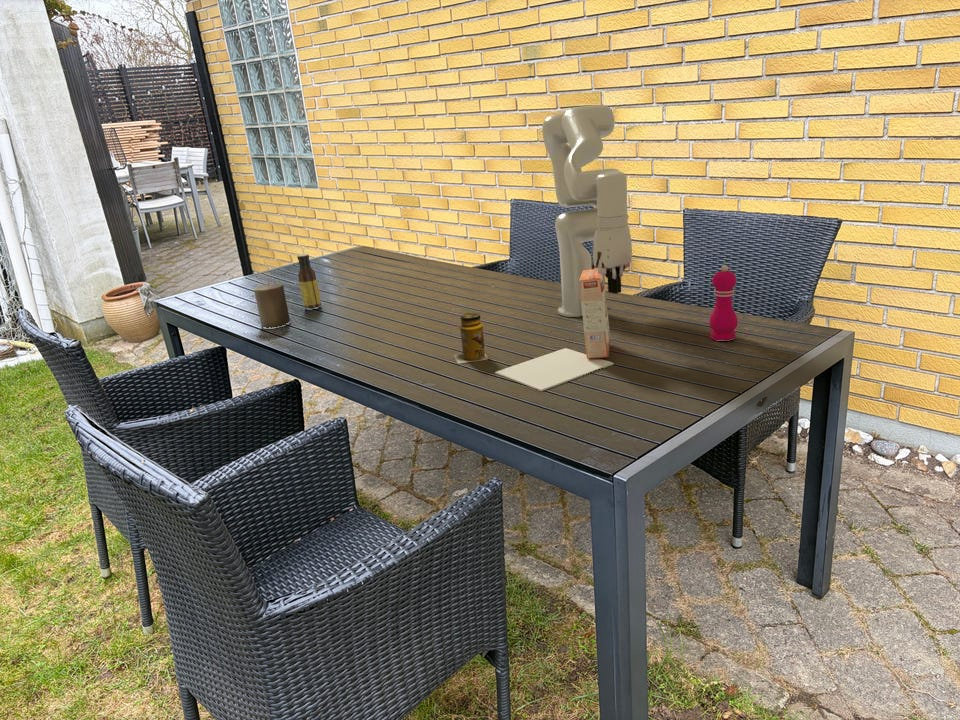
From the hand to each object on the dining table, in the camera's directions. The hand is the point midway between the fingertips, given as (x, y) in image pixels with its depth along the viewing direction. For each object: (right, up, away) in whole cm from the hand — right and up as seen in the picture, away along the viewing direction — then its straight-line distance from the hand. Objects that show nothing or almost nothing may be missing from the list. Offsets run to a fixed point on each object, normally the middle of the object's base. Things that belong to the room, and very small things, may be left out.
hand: (614, 292), depth 192 cm
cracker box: (-4, -16, +2) cm, 16 cm away
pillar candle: (-105, -6, +57) cm, 119 cm away
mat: (-17, -20, -7) cm, 27 cm away
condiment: (-38, -17, +7) cm, 42 cm away
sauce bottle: (-96, +1, +74) cm, 121 cm away
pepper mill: (+30, -12, +4) cm, 32 cm away
